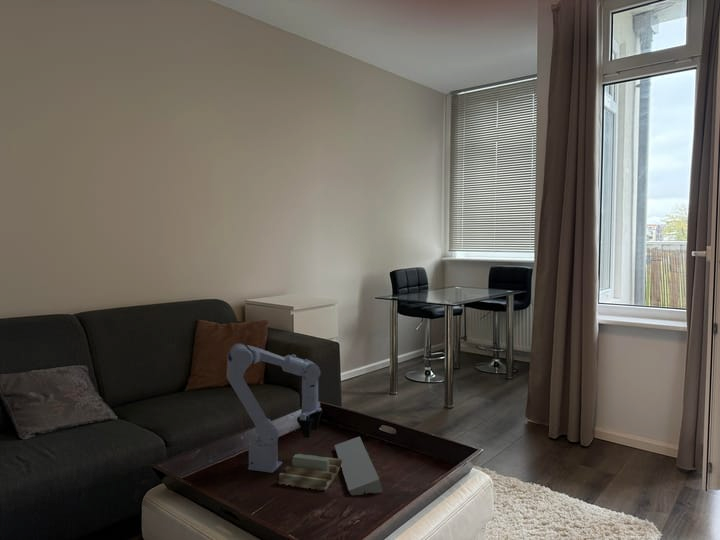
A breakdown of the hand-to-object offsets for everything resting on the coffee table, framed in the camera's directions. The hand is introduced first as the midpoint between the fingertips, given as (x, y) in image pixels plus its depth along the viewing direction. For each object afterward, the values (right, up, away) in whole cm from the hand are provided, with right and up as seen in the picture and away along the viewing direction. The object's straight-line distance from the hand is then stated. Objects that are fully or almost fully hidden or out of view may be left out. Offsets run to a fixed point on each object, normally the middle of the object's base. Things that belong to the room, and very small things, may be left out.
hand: (310, 433), depth 179 cm
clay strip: (+1, -9, -12) cm, 15 cm away
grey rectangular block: (+16, -11, -7) cm, 21 cm away
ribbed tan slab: (+2, -10, -12) cm, 16 cm away
